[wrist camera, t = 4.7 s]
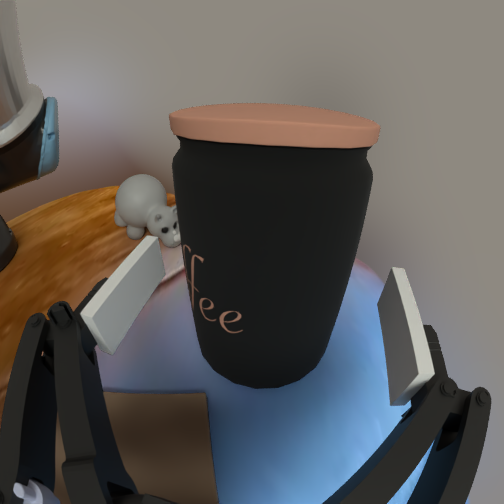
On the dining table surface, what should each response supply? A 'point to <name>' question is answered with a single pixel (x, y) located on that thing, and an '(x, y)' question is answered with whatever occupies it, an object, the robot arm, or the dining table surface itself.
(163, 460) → the walnut board
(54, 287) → the dining table surface
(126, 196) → the chubby cartoon animal
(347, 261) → the coffee jar
